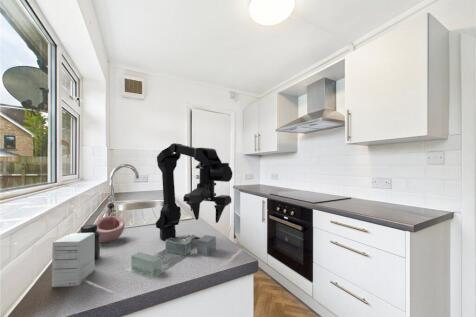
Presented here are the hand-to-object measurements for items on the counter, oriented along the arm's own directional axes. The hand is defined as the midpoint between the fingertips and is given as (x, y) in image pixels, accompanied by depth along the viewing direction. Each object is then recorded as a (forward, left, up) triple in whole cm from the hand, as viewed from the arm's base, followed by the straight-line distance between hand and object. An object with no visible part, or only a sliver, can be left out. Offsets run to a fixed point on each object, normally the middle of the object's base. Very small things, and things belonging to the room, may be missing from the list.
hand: (206, 221), depth 77 cm
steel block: (0, 0, -13) cm, 13 cm away
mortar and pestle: (-47, -8, -13) cm, 49 cm away
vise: (-10, -12, -12) cm, 20 cm away
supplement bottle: (-36, -22, -13) cm, 44 cm away
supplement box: (-26, -31, -13) cm, 42 cm away
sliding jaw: (-10, -1, -11) cm, 15 cm away
